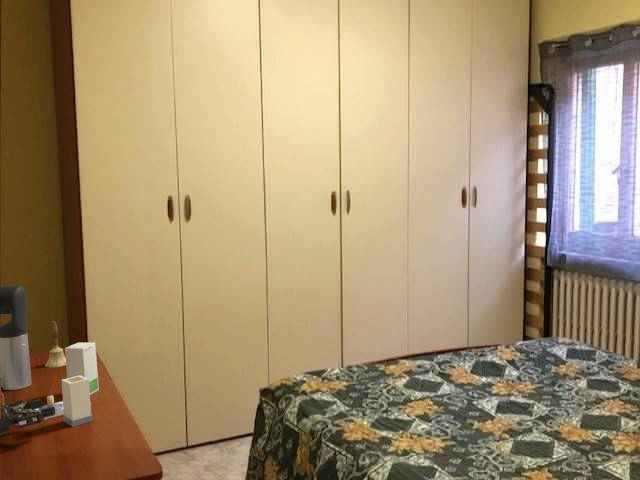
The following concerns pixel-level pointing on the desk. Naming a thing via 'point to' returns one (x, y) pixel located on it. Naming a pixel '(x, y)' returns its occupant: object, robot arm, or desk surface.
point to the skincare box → (83, 363)
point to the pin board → (58, 406)
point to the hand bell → (55, 350)
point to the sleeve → (76, 401)
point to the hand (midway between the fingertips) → (48, 406)
